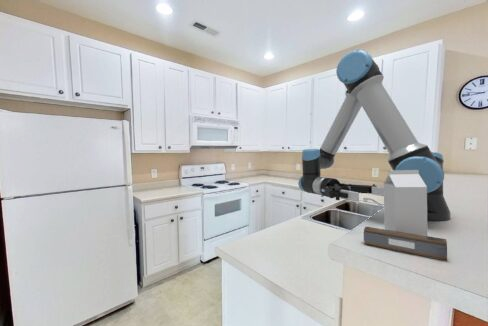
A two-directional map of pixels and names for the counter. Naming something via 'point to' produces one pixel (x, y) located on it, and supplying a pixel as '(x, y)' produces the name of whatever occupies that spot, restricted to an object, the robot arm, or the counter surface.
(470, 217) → the counter surface
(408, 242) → the price rail
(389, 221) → the milk carton
